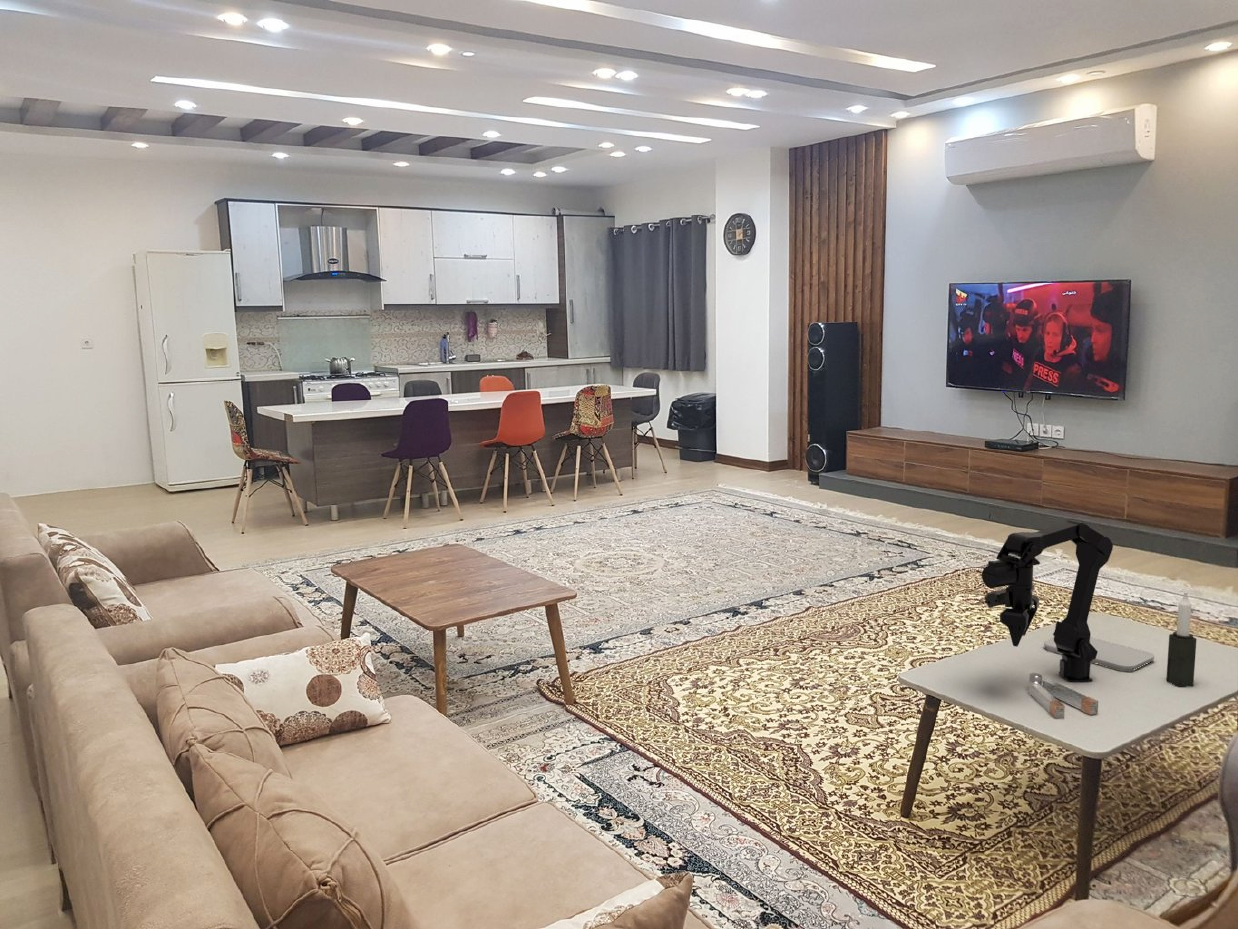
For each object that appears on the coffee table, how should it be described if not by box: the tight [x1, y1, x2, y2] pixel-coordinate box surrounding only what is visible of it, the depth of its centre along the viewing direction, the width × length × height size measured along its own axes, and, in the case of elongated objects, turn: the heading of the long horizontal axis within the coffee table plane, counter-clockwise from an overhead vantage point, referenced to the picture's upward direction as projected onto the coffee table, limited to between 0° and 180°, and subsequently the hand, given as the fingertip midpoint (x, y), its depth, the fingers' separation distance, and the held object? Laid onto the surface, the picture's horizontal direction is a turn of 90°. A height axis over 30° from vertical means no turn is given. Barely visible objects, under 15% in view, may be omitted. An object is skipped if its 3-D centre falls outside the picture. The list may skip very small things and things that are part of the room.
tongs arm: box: [1042, 678, 1099, 716], centre depth 239 cm, size 16×2×3 cm, turn 19°
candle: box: [1166, 591, 1198, 688], centre depth 248 cm, size 5×5×25 cm
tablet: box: [1043, 636, 1155, 672], centre depth 272 cm, size 16×26×2 cm, turn 35°
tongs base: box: [1028, 672, 1065, 719], centre depth 239 cm, size 20×4×4 cm, turn 179°
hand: (1019, 640), depth 246 cm, fingers open, 9 cm apart
